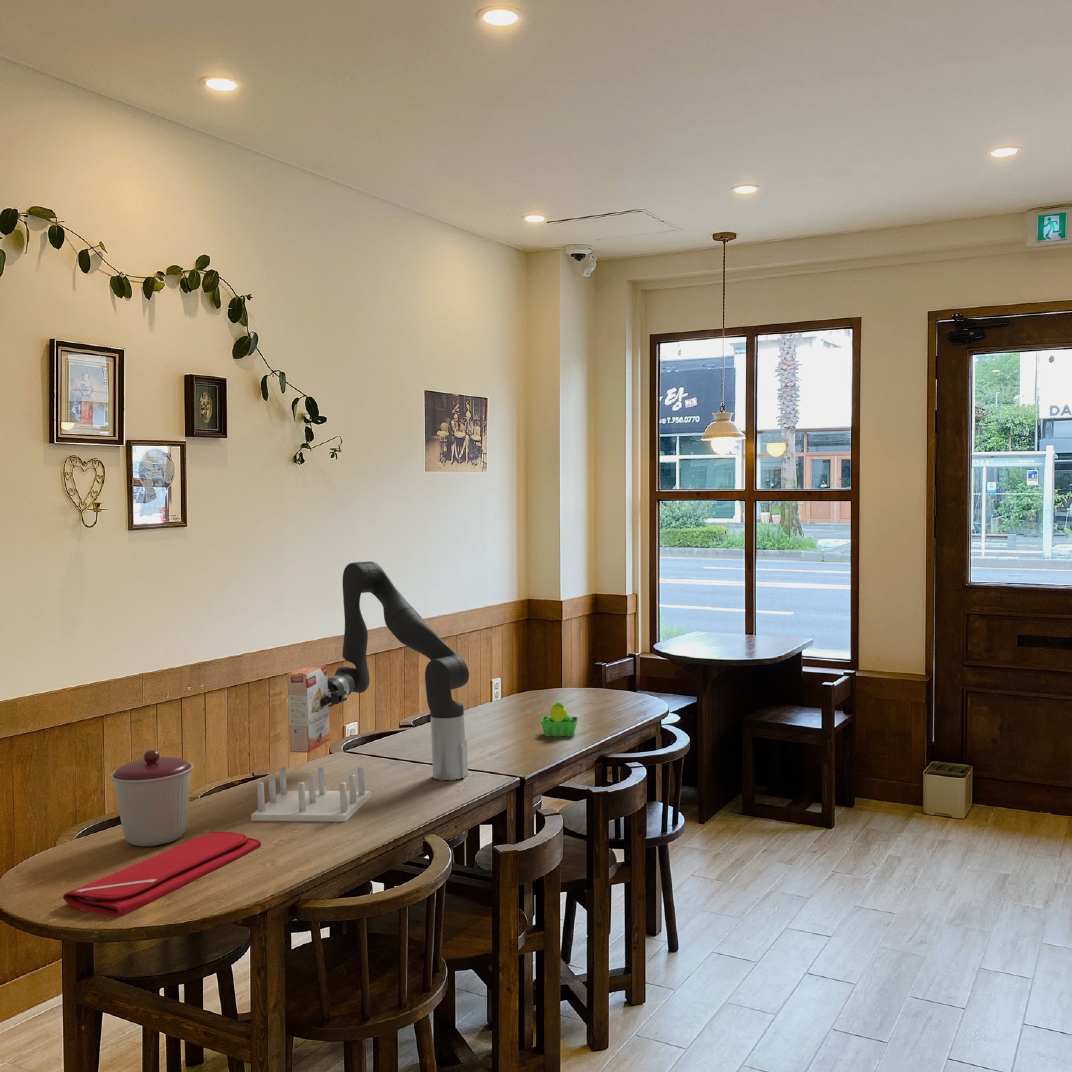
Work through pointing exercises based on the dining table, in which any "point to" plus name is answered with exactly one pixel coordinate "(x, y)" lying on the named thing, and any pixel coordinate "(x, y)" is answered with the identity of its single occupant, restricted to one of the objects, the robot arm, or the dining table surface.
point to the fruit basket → (559, 722)
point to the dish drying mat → (160, 874)
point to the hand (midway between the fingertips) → (310, 703)
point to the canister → (153, 798)
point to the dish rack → (310, 800)
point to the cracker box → (308, 708)
